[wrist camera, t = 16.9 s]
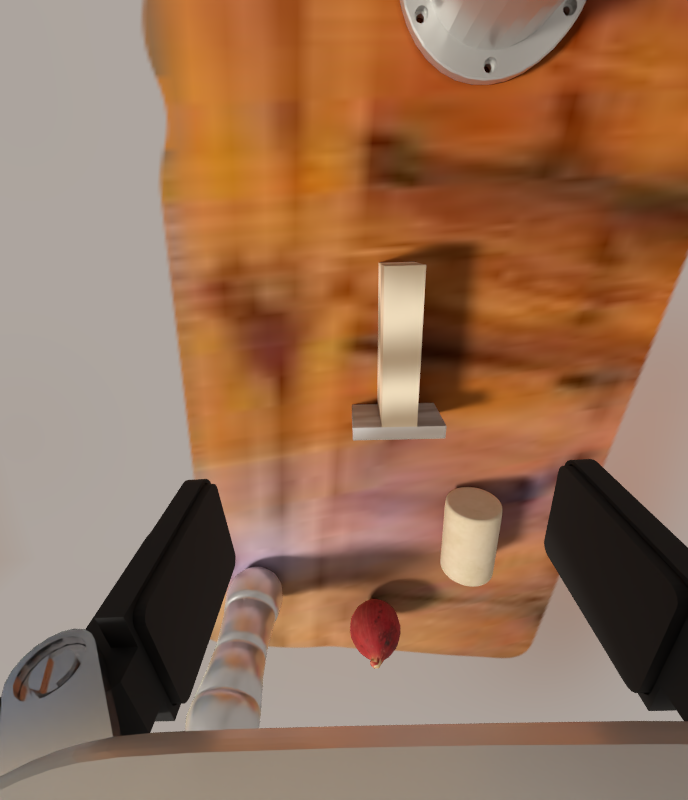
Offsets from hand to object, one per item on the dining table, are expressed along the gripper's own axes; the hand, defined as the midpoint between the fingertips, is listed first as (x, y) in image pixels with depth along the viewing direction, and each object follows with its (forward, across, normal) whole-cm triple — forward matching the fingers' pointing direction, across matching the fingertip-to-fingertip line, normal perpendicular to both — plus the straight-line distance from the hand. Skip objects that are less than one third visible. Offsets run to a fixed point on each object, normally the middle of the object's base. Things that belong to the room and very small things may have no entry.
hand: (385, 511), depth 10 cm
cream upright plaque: (+25, -3, +4) cm, 25 cm away
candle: (+22, -10, +19) cm, 30 cm away
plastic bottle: (+24, +14, +31) cm, 42 cm away
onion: (+24, 0, +36) cm, 43 cm away
